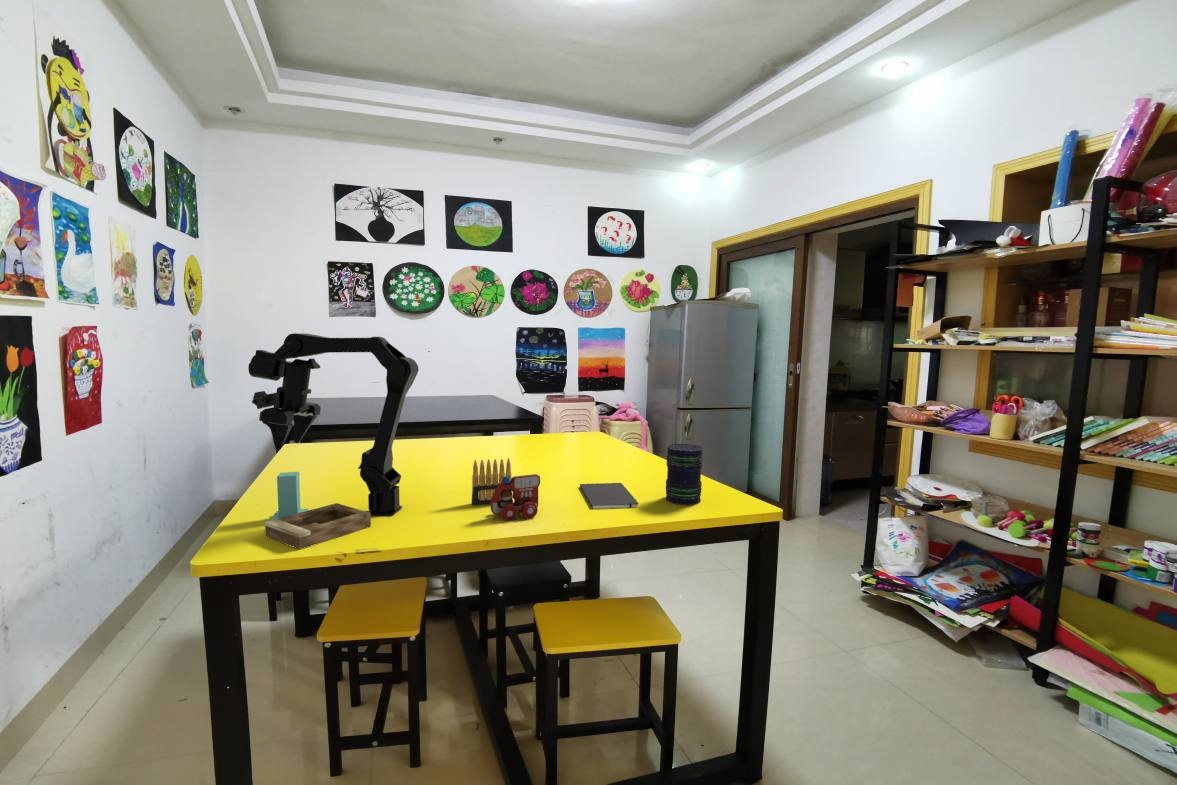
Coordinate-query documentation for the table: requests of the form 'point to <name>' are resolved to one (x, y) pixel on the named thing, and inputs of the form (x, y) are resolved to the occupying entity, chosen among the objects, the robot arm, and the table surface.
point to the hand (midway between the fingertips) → (287, 446)
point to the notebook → (608, 495)
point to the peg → (288, 495)
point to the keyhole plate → (317, 525)
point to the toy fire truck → (516, 497)
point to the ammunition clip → (487, 481)
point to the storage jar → (684, 474)
